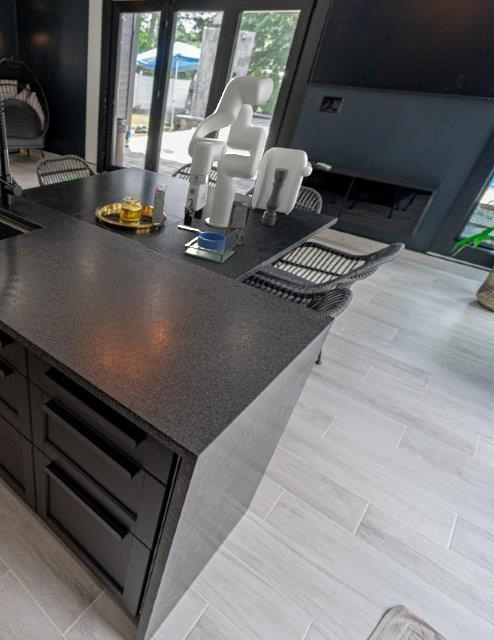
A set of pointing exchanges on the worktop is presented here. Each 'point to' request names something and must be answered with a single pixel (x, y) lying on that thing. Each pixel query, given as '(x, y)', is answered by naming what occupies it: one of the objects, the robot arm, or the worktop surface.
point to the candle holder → (274, 197)
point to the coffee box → (238, 220)
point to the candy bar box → (159, 204)
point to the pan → (207, 238)
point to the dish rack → (213, 254)
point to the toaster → (290, 190)
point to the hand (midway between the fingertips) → (192, 222)
